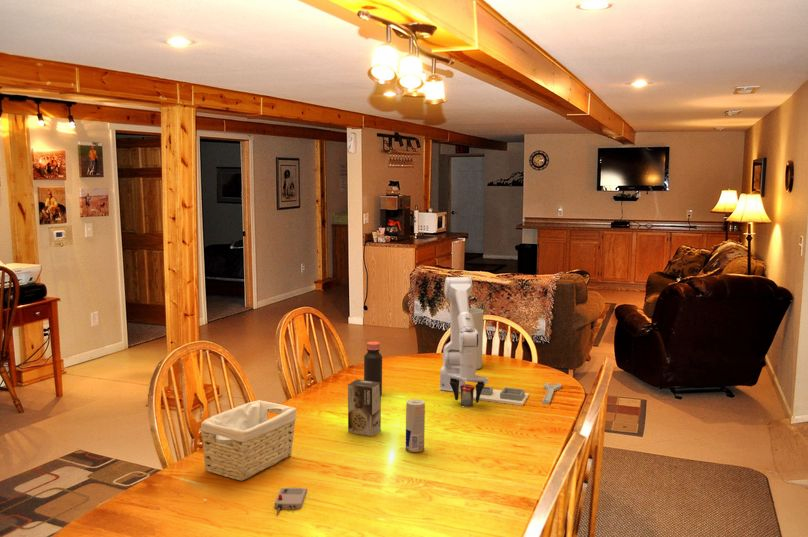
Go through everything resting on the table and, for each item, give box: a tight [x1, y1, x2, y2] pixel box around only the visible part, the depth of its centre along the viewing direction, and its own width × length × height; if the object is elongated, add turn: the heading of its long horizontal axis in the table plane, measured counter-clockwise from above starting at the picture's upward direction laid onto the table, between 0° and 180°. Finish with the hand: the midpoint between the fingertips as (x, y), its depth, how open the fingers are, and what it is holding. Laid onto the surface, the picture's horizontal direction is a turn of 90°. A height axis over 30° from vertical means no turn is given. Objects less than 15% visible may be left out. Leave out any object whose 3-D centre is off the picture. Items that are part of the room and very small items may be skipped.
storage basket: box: [200, 399, 297, 481], centre depth 195 cm, size 24×16×15 cm
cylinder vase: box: [452, 307, 484, 371], centre depth 298 cm, size 12×12×25 cm
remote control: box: [274, 487, 308, 515], centre depth 173 cm, size 7×16×3 cm, turn 0°
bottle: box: [363, 341, 383, 396], centre depth 258 cm, size 7×7×20 cm
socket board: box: [473, 385, 530, 407], centre depth 258 cm, size 20×12×3 cm, turn 70°
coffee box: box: [347, 378, 382, 437], centre depth 221 cm, size 9×6×16 cm
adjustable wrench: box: [542, 382, 562, 405], centre depth 263 cm, size 25×6×2 cm, turn 156°
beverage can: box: [405, 398, 426, 453], centre depth 206 cm, size 6×6×15 cm
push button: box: [460, 383, 475, 408], centre depth 249 cm, size 5×5×7 cm
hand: (467, 400), depth 249 cm, fingers open, 7 cm apart
